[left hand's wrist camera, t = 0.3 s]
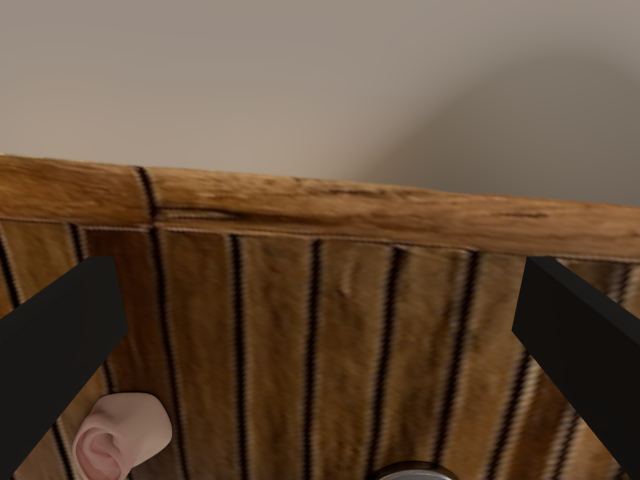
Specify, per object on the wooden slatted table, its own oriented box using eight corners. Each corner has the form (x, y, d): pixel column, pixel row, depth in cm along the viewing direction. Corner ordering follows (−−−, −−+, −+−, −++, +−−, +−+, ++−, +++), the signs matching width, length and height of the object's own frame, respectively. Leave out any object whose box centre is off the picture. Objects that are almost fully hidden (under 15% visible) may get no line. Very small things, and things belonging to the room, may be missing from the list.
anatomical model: (125, 402, 44) (184, 467, 47) (141, 378, 47) (194, 440, 51) (36, 443, 46) (99, 502, 49) (57, 417, 49) (114, 473, 53)
